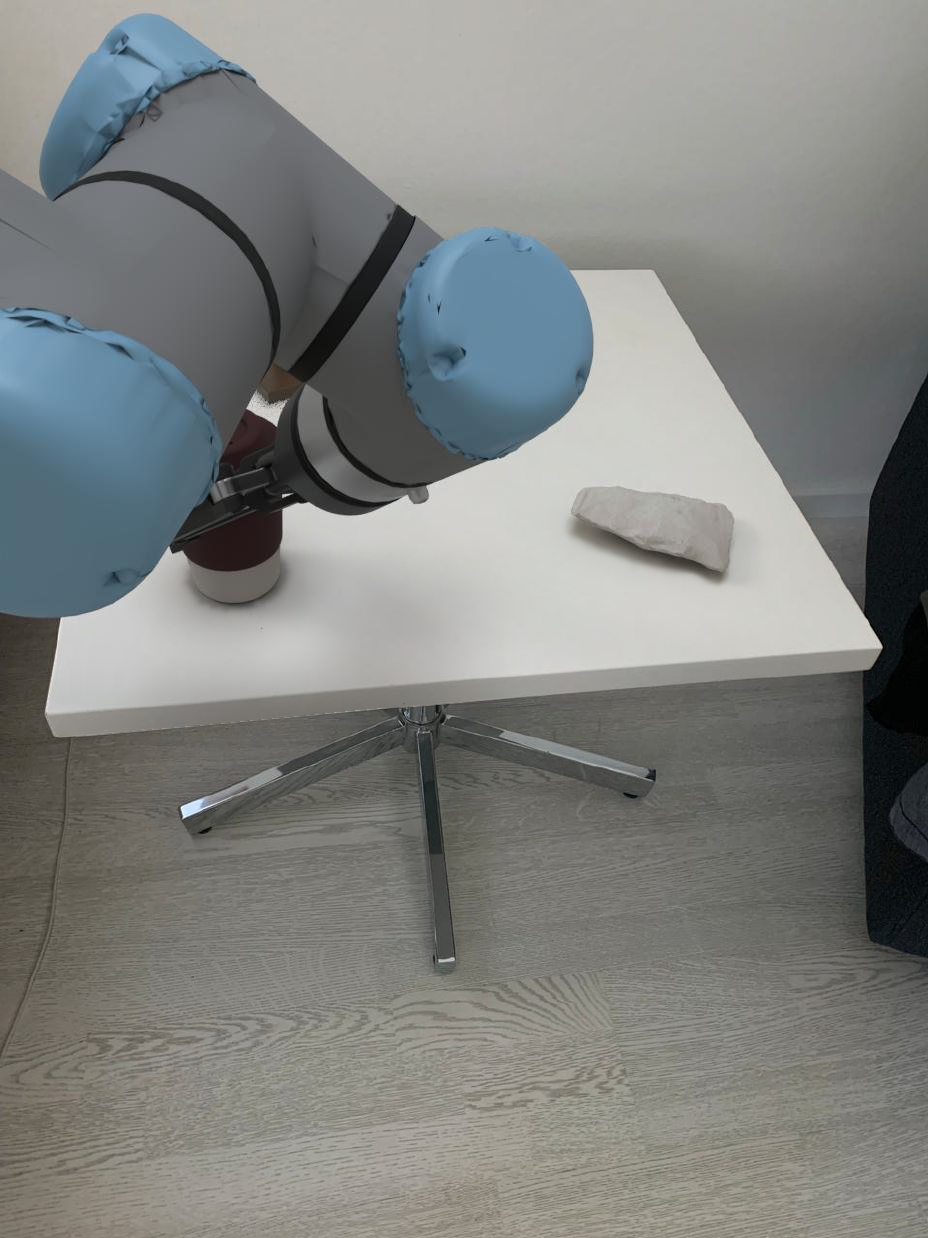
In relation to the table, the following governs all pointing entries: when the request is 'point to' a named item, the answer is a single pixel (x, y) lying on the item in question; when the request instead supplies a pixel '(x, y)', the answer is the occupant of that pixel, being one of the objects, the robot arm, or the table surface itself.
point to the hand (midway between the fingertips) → (262, 502)
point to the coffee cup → (240, 533)
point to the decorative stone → (661, 522)
